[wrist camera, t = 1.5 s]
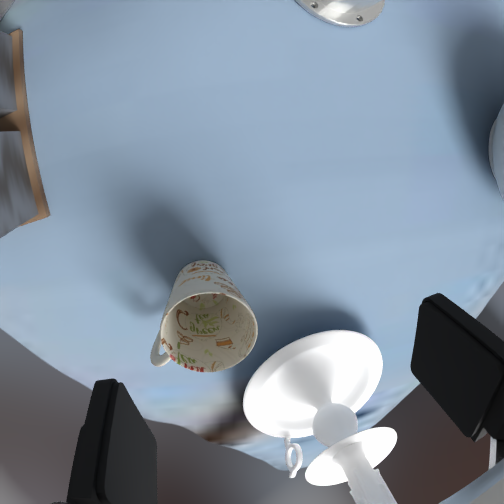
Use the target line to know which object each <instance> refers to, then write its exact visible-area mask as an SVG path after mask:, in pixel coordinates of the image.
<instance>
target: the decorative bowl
mask: <svg viewBox="0 0 504 504" xmlns="http://www.w3.org/2000/svg"><path fill="white" fill-rule="evenodd" d="M489 161H490V166H491V170H492V173H493V175H494V177H495V179H496V181H497V185H498V188H499V191H500V194H501V196H502V199H503V201H504V103H503V105H502V107H501V109H500V112H499V114H498V117H497V118H496V120H495V121H494V123H493V125H492V128H491V131H490V136H489Z"/></svg>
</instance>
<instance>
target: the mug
mask: <svg viewBox="0 0 504 504" xmlns="http://www.w3.org/2000/svg"><path fill="white" fill-rule="evenodd" d="M257 334H258V326H257V321H256V318H255V315H254V313H253V311H252V309H251V307H250V306H249V304H248V303H247V302H246V300H245V299H244V297H243V296H242V295H241V293H240V292H239V290H238V289H237V287H236V286H235V284H234V283H233V282H232V280H231V279H230V277H229V276H228V274H227V273H226V272H225V270H224V269H223V268H222V267H220V266H219V265H218V264H216V263H214V262H211V261H205V260H200V261H195V262H192V263H190V264H188V265H186V266H185V267H184V268H183V269H182V270H181V271H180V272H179V274H178V276H177V278H176V280H175V283H174V286H173V289H172V291H171V294H170V297H169V300H168V303H167V305H166V308H165V311H164V314H163V317H162V321H161V326H160V331H159V333H158V335H157V337H156V340H155V342H154V345H153V347H152V350H151V355H150V358H151V363H152V364H153V365H154V366H157V367H161V366H163V365H165V364H166V363H167V362H168V361H169V360H171V359H172V360H174V361H175V362H176V363H177V364H179V365H181V366H183V367H185V368H187V369H190V370H193V371H198V372H217V371H222V370H225V369H228V368H230V367H232V366H235V365H236V364H238V363H239V362H241V361H242V360H243V359H244V358H245V357H246V356H247V355H248V354H249V353H250V352H251V350H252V349H253V347H254V345H255V342H256V339H257ZM161 344H162V345H163V347H164V350H165V351H166V352H165V353H164V354H163V355H160V354H159V351H160V347H161Z"/></svg>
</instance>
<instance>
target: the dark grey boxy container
mask: <svg viewBox="0 0 504 504" xmlns="http://www.w3.org/2000/svg"><path fill="white" fill-rule="evenodd" d="M48 216H50V212H49V208H48V204H47V201H46V197H45V193H44V189H43V185H42V181H41V176H40V172H39V167H38V163H37V158H36V153H35V148H34V142H33V137H32V131H31V125H30V118H29V111H28V103H27V95H26V85H25V74H24V59H23V31H22V30H20V29H18V30H16V31H14V32H12V33H10V34H6V33H4V32H2V31H0V238H1V237H3V236H4V235H6V234H7V233H9V232H11V231H12V230H14V229H15V228H17V227H19V226H22V225H25V224H28V223H31V222H34V221H37V220H40V219H43V218H46V217H48Z"/></svg>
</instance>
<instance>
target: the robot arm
mask: <svg viewBox="0 0 504 504" xmlns="http://www.w3.org/2000/svg"><path fill="white" fill-rule="evenodd" d="M296 1H297V2H298V4H299V5H300V6H301V7H303V8H304V9H305V10H306V11H308V12H309V13H310V14H312V15H313V16H315V17H317V18H318V19H320V20H323V21H325V22H327V23H330V24H333V25H337V26H343V27H358V26H362V25H365V24H367V23H369V22H371V21H373V20H374V19H376V18H377V17H378V16H379V14H380V13H381V12H382V10H383V7H384V3H385V0H296ZM411 371H412V373H413V375H414V376H415V377H416V378H417V379H418V380H419V382H420V383H421V384H422V385H423V386H424V387H425V388H426V390H427V391H428V392H429V393H430V394H431V395H432V397H433V398H434V399H435V400H436V401H437V403H438V404H439V405H440V406H441V407H442V409H443V410H444V411H445V412H446V413H447V415H448V416H449V417H450V418H451V419H452V420H453V422H454V423H455V424H456V425H457V426H458V428H459V429H460V430H461V431H462V433H463V434H464V435H465V436H466V437H471V439H472V440H473V441H474V442H476V441H477V440H479V439H480V438H482V437H483V436H485V435H486V433H487V432H488V433H489V434H490V436H491V447H490V462H489V470H488V471H487V472H486V473H484V474H483V475H482V476H480V477H479V478H477V479H476V480H474V481H473V482H472V483H470V484H469V485H467V486H466V487H464V488H463V489H462V490H460V491H458V492H457V493H455V494H454V495H452V496H450V497H449V498H447V499H446V500H444V501H442V502H441V503H439V504H504V342H503V341H502V340H501V339H500V338H499V337H498V336H496V335H495V334H494V333H492V332H491V331H490V330H489V329H487V328H486V327H485V326H483V325H482V324H481V323H480V322H478V321H477V320H476V319H475V318H473V317H472V316H471V315H469V314H468V313H467V312H465V311H464V310H463V309H461V308H460V307H459V306H457V305H456V304H455V303H453V302H452V301H451V300H449V299H448V298H447V297H445V296H444V295H443V294H441V293H437V294H434V295H431V296H429V297H426V298H424V299H423V301H422V304H421V305H420V307H419V314H418V321H417V329H416V335H415V342H414V348H413V354H412V360H411ZM51 504H157V445H156V440H155V437H154V435H153V434H152V432H151V430H150V429H149V428H148V426H147V424H146V422H145V421H144V419H143V417H142V416H141V414H140V412H139V411H138V409H137V407H136V406H135V404H134V402H133V400H132V399H131V397H130V395H129V393H128V391H127V390H126V388H125V386H124V384H123V383H121V382H120V383H118V382H117V380H116V379H106V380H98V381H96V382H95V384H94V388H93V392H92V396H91V400H90V404H89V408H88V412H87V416H86V420H85V424H84V425H83V427H82V428H81V430H80V433H79V437H78V442H77V447H76V451H75V456H74V461H73V466H72V471H71V477H70V483H69V489H68V495H67V501H66V502H61V501H60V502H53V503H51Z"/></svg>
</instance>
